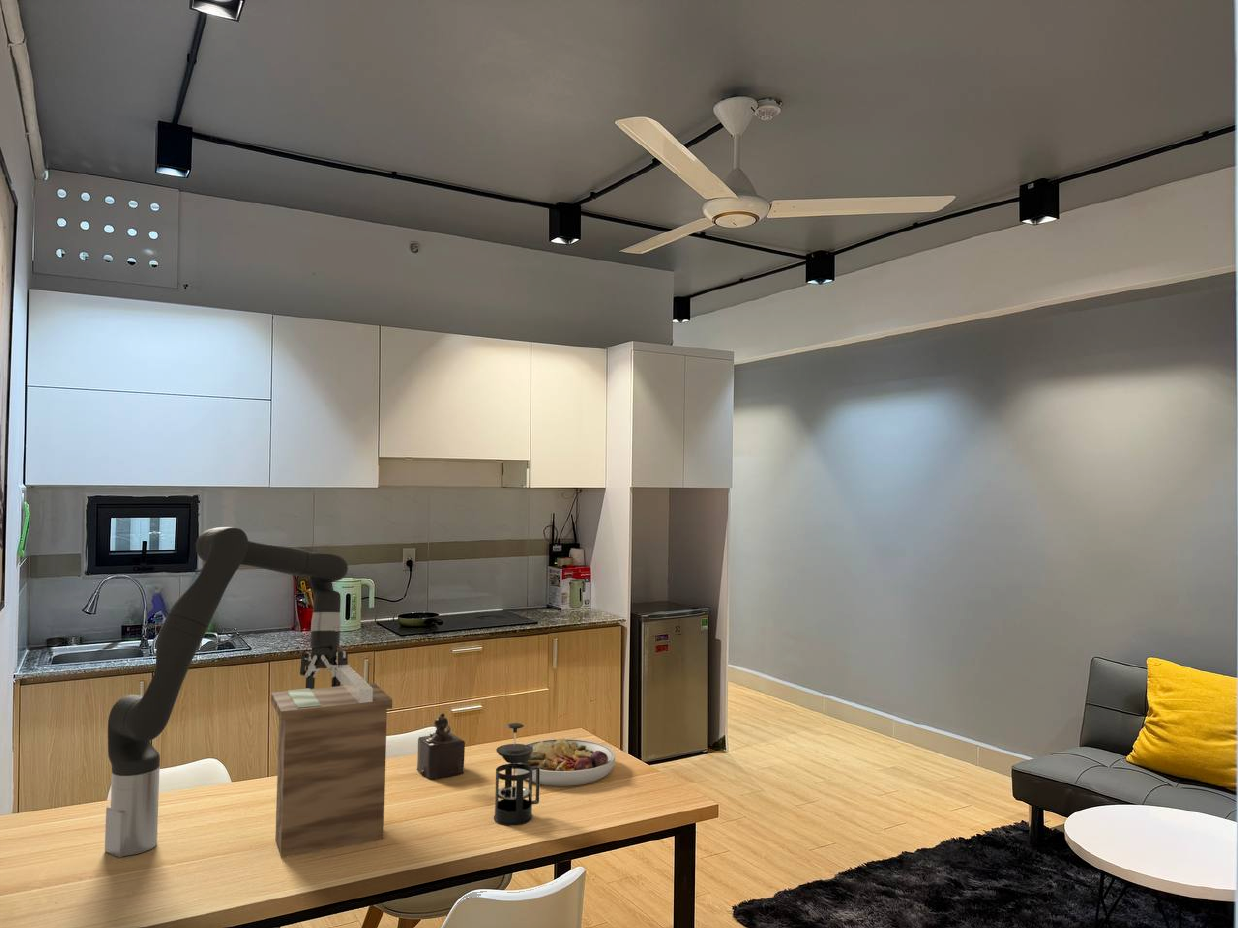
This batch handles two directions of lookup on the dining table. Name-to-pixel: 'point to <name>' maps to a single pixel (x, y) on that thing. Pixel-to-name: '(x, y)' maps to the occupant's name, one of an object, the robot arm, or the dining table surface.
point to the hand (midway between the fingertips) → (322, 691)
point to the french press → (514, 802)
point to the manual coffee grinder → (440, 752)
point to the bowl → (569, 761)
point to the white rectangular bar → (354, 683)
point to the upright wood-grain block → (329, 769)
